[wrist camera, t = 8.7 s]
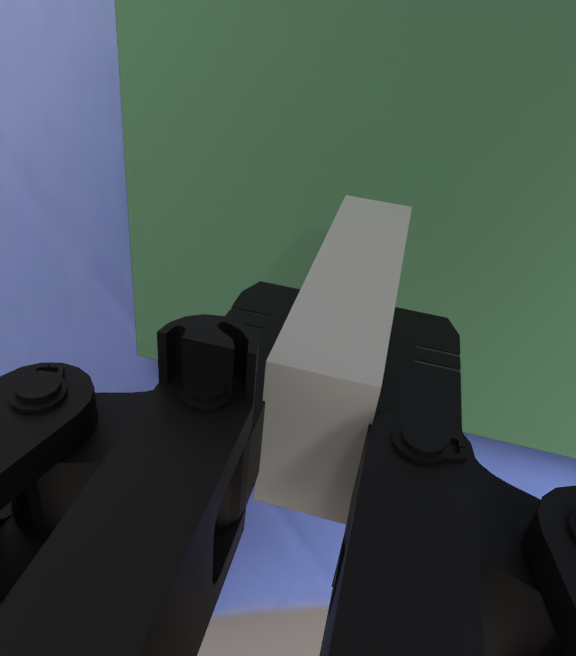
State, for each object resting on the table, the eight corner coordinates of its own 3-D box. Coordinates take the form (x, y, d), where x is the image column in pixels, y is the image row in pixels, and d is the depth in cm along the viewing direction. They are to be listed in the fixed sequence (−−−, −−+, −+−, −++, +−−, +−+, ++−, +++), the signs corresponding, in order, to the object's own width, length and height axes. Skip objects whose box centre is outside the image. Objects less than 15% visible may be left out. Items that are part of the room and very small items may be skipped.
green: (165, -58, 15) (110, -67, 13) (1119, 53, 12) (1297, 71, 9) (172, 312, 22) (137, 355, 19) (787, 448, 18) (840, 521, 16)
